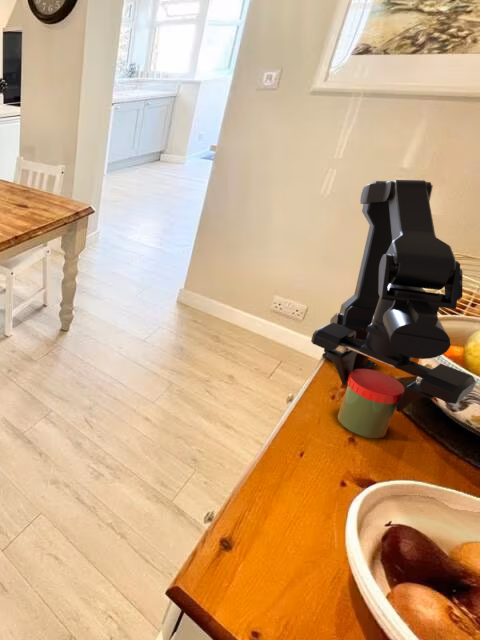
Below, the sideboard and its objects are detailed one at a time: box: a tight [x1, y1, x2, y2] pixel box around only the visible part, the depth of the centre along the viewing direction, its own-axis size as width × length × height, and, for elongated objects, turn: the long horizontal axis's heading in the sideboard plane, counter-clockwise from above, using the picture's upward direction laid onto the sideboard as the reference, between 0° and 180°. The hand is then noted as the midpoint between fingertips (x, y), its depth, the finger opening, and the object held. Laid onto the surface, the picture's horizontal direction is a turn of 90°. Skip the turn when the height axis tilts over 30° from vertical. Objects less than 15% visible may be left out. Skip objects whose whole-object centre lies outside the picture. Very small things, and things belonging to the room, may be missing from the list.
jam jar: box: [337, 385, 399, 439], centre depth 71 cm, size 6×6×10 cm
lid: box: [347, 368, 405, 404], centre depth 70 cm, size 7×7×2 cm
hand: (371, 396), depth 71 cm, fingers open, 7 cm apart
